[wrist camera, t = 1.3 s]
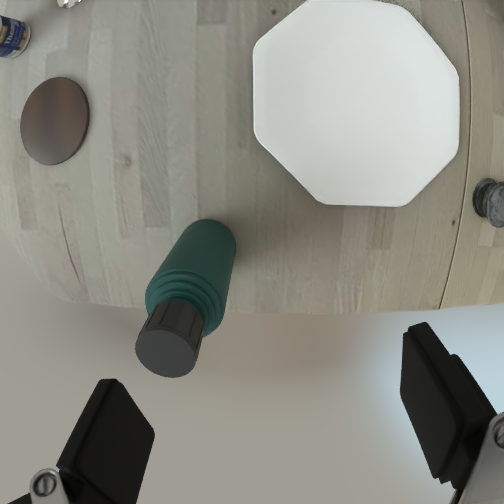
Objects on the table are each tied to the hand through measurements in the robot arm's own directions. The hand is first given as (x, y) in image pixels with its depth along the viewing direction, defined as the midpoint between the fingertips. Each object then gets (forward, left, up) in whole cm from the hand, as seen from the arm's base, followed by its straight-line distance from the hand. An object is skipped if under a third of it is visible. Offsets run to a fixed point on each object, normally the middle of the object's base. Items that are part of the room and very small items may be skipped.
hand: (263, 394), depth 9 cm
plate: (-15, -7, -27) cm, 32 cm away
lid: (+19, -19, -27) cm, 38 cm away
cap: (+7, +3, -12) cm, 14 cm away
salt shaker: (-29, +9, -27) cm, 40 cm away
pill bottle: (+21, -34, -27) cm, 49 cm away
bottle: (+7, +3, -27) cm, 28 cm away
